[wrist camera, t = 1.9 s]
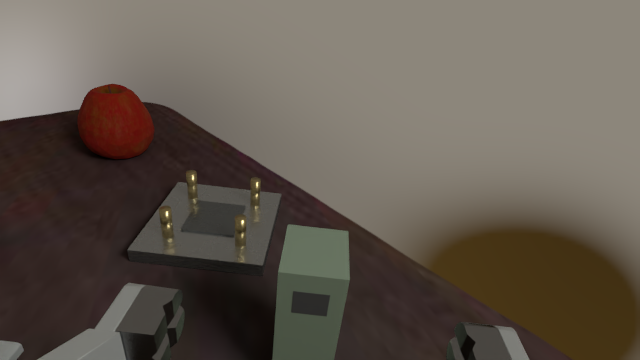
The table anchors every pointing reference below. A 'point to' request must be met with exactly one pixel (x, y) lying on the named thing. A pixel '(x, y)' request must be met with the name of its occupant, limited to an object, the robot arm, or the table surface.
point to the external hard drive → (10, 350)
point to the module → (311, 293)
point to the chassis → (210, 228)
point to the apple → (115, 122)
